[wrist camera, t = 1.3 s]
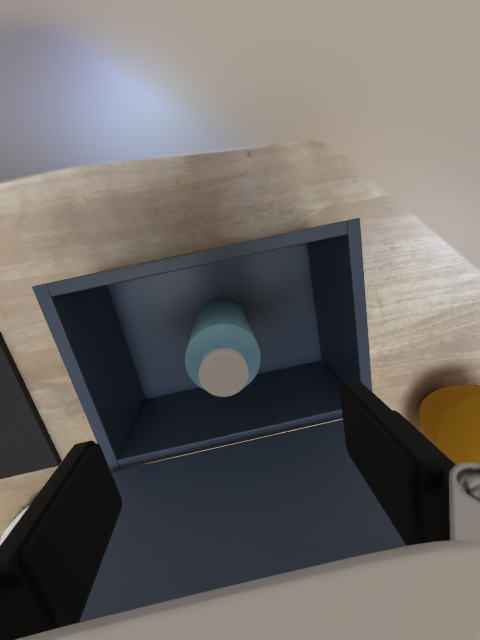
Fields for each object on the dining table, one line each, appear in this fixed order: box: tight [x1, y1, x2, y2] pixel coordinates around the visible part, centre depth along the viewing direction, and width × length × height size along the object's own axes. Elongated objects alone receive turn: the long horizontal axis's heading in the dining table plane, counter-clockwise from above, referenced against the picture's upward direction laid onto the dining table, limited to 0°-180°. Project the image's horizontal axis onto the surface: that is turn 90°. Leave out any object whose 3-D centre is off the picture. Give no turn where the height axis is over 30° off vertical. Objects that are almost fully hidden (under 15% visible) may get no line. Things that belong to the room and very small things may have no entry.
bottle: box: [185, 298, 261, 397], centre depth 20 cm, size 5×5×11 cm
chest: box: [32, 218, 372, 471], centre depth 22 cm, size 14×20×9 cm
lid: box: [79, 420, 406, 623], centre depth 13 cm, size 14×20×5 cm
